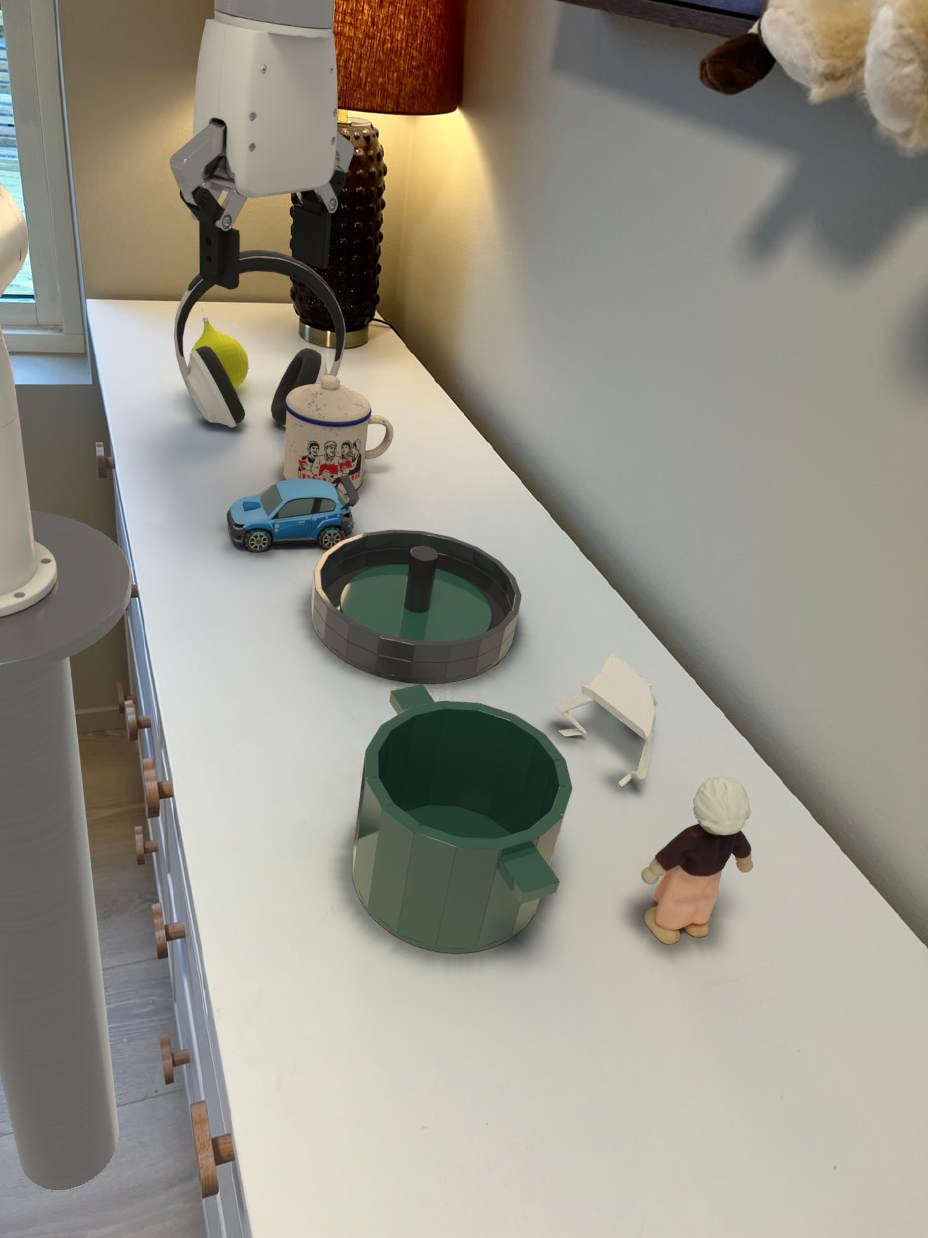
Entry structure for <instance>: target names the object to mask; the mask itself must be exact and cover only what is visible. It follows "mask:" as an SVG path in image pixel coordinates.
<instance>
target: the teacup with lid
mask: <svg viewBox="0 0 928 1238" xmlns="http://www.w3.org/2000/svg"><path fill="white" fill-rule="evenodd" d="M285 408H286V410H287V413H286V427H285V433H284V435H285V437H284V458H283V460H284V461H283V476H284V480H291V479H317V480H323V481H327V482H330V483H331V482H333V481H334V480H335V479H336V478H337V477H342V476H345V475H347V474H348V476H349V477H350V479H351V481H352V483H353V485H354V487H355V489H356V490H357V489H358V488H359V487H360V486H361V485H362V483H363V479H364V470H365V469H364V468H365V460H373V459H376V458H379V457H382V455H383V454H385V453H386V452H387V451H388V449H389V448H390V446H391V444H392V441H393V439H394V427H393V425H392V423H391V422H390V421H389V419H388V418H386V417H384V416H383V415H379V414H372V406H371V404H370V401H369V400H368V399H367V398H366V397H365V396H364V395H363V394H362V393H360V392H358V391H356V390H354V389H351V388H349V387H346V386H344V385H342V384H341V380H340V378H339V377H337V376H333V375H325V376H323V377H322V378H321V382H319V383H315V384H311V385H304V386H301V387H298V388H295V389H294V390H292V391H291V392H290V393H289V394H288V396H287V398H286V400H285ZM369 425H382V426H383V427H385V434H384V437H383V439H382V441H381V442H380V443H379V444H378V445H377V446H376V447H374V448H372V449H369V450H367V441H368V440H367V439H368V428H369ZM333 485H335V486H336V483H334V484H333ZM338 488H339V489H340V490H341V491H342V492H343V494H344V495H348V494H347V492H346V490H345V488H344V486H343V485H342V483H339V485H338Z"/></svg>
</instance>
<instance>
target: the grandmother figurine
mask: <svg viewBox="0 0 928 1238" xmlns="http://www.w3.org/2000/svg"><path fill="white" fill-rule="evenodd" d="M696 791H697V792H696V793H695V795H694V797H693V800H692V802H693V814H694V817H695V819H696V821H697V823H696V824H693V825H691V826H688V827H686V828H684V829H683V830H682V831H680V832H679V833H678V834H677V835H675V837H673V838H672V839H671V840H670V841H669V842H668V843H667V844H666V845H665V846H663V848H661V849H660V850H659V851H658V852H657V853H656V854H655V855H654V858H653V859H652V860H651V862H650V863H649V865H648V866H647V867H645V868H643V870H641V874H640V875H641V880H642V881H643V882H644V883H645V884H647V885H655V884H657V882H658V881H659V878H660V877H662V878H661V880H660V881H659V883H658V885H657V887H656V889H655V891H654V893H653V900H654V902H656V903H658V904H657V906H653V907H651V908H650V909H648V910H647V911H646V912H645V913H644V915H643V921H644V923H645V925H646V927H647V928H648V929H649V930H650V931H651V932H652V934H653V935H654V936H655V937H656V938H657V939H658V940H659V941H660V942H661V943H663V944H665V945H673V944H676V943H678V942H680V939H681V932H680V929H682V928H684V930H685V931H686V932H687V934H689V935H690V936H692V937H695V938H702V937H705V936H707V935H708V933H709V923H708V922H709V920H710V917H711V914H712V912H713V909H714V906H715V903H716V902H717V899H718V895H719V887H720V882H721V879H722V872H723V870H724V868H725V867H726V864H727V862H729V860H730V858H731V856H734V859H735V865H736V867H737V869H738V871H739V872H741V873H744V874H746V873H749V872H751V871H752V869H753V868H754V863H753V859H752V846H751V844H750V842H749V841H748V839H747V837H746V835H745V834H744V832H743V831H742V830H743V828H744V826H745V825H746V821H747V820H748V819H749V818H750V816H751V814H752V809H751V806H750V799H749V796H748V793H747V791H746V789H745V786H744V784H742V783H741V782H740V781H739V780H737V779H735V778H733V777H730V776H717V777H711V778H710V777H709V778H707V779H706V780H705V781H703V782H702V783H701V785H700V786H699V787H698V788H697V790H696Z"/></svg>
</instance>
